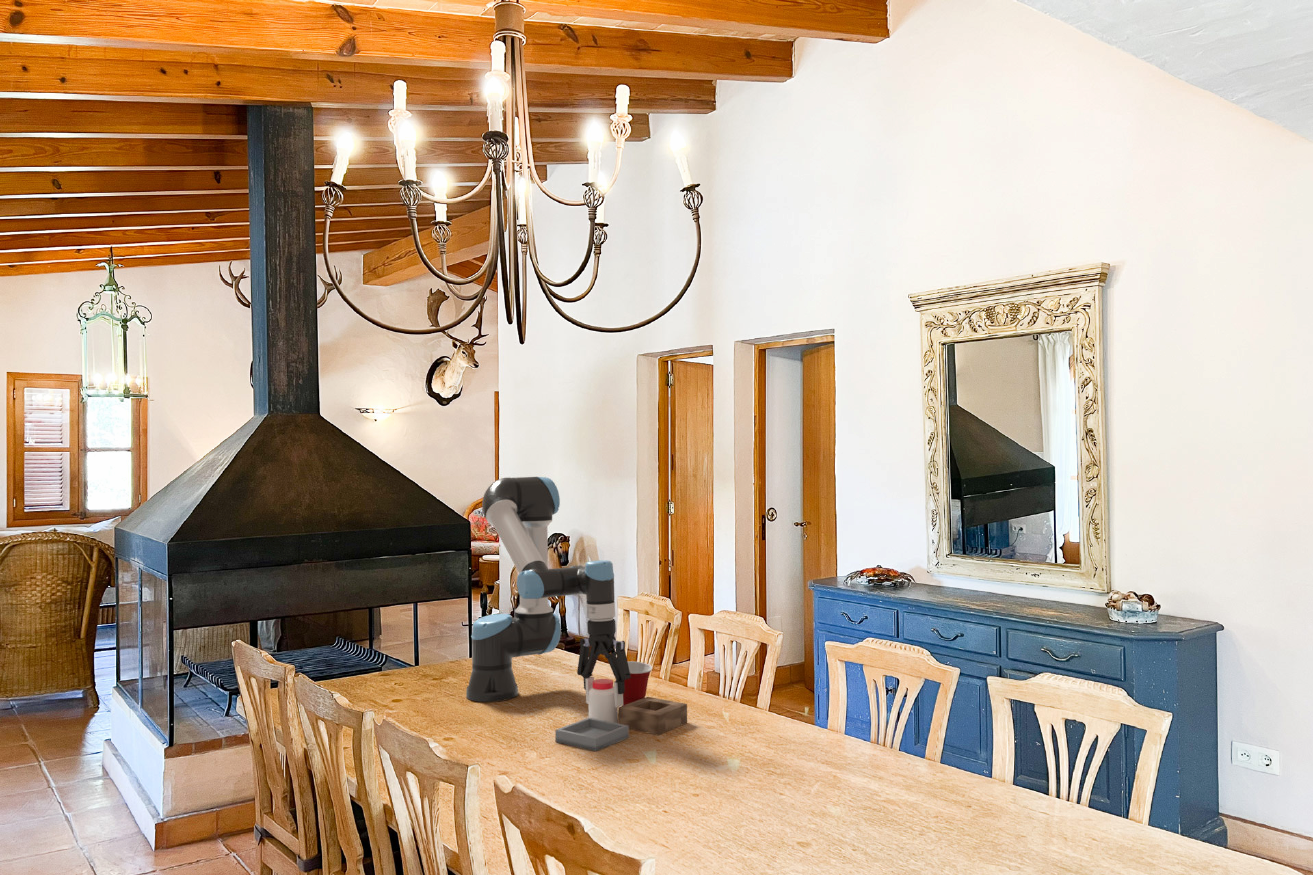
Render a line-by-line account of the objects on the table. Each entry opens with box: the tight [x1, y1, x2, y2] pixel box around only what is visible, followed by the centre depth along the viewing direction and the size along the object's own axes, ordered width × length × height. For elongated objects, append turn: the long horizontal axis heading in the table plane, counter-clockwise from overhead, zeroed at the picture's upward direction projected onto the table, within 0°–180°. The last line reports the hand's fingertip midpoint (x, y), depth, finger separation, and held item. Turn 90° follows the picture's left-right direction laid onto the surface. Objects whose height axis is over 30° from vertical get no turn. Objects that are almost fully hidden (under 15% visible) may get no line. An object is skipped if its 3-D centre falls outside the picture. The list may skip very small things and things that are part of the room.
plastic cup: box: [622, 660, 653, 706], centre depth 260 cm, size 11×11×12 cm
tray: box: [554, 717, 630, 752], centre depth 231 cm, size 13×13×3 cm
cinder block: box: [617, 696, 688, 736], centre depth 244 cm, size 13×13×5 cm
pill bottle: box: [587, 678, 618, 723], centre depth 246 cm, size 8×8×11 cm
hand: (604, 704), depth 245 cm, fingers open, 9 cm apart
